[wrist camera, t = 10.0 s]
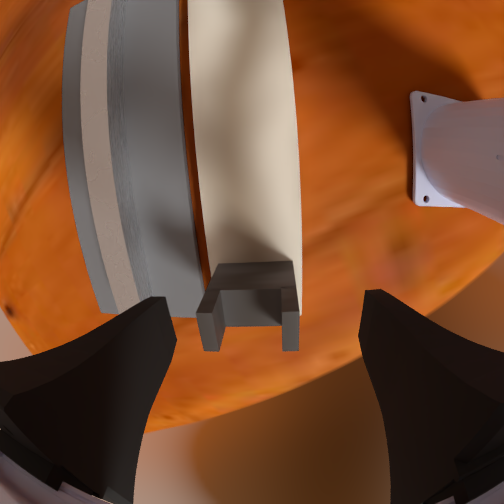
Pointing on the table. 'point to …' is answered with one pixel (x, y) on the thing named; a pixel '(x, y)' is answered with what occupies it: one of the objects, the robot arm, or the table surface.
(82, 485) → the robot arm
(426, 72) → the table surface
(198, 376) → the table surface
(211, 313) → the hook stand
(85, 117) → the rail
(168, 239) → the mat
